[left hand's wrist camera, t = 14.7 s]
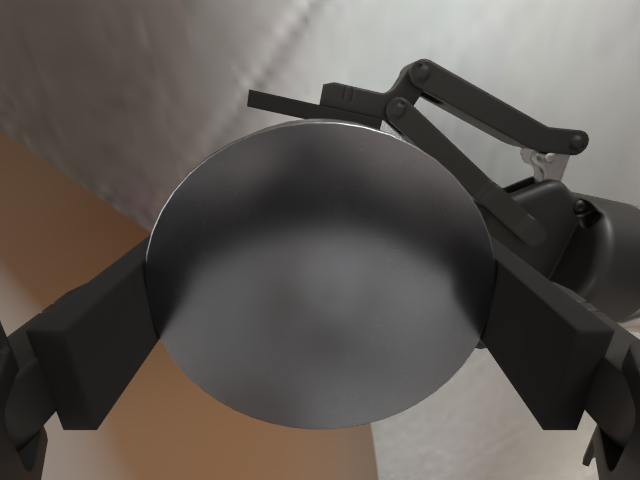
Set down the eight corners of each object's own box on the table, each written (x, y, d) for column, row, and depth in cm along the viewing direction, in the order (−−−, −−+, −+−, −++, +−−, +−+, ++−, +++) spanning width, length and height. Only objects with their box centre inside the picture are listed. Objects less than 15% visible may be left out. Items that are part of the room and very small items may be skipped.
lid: (339, 37, 9) (344, 19, 7) (519, 284, 12) (559, 320, 10) (113, 257, 12) (71, 288, 10) (307, 420, 15) (305, 470, 13)
